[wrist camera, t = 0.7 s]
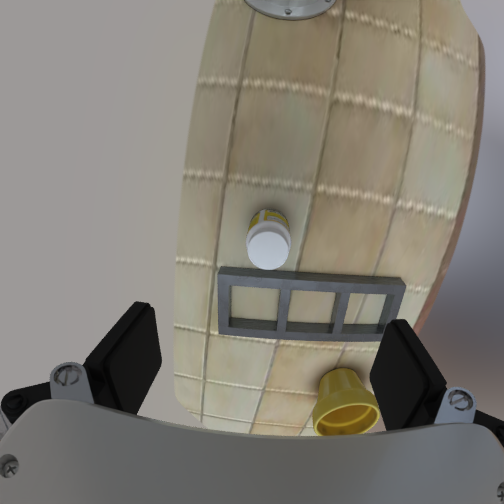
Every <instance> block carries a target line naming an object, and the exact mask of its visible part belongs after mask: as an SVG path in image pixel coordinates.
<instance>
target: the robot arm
mask: <svg viewBox="0 0 504 504" xmlns="http://www.w3.org/2000/svg"><path fill="white" fill-rule="evenodd" d="M335 1H336V0H245V2H246V3H247V4H248V5H250V6H251V7H252V8H253V9H255V10H257V11H259V12H260V13H262V14H265V15H268V16H270V17H275V18H279V19H287V20H301V19H308V18H312V17H315V16H318V15H320V14H322V13H324V12H326V11H327V10H328V9H329V8H331V7H332V5H333V4H334V3H335ZM288 14H290V15H288ZM161 363H162V357H161V352H160V345H159V338H158V333H157V325H156V318H155V311H154V308H153V307H151V306H150V304H149V303H144V302H137V301H136V302H134V304H133V305H132V306H131V307H130V308H129V309H128V310H127V311H126V313H125V314H124V315H123V316H122V317H121V318H120V319H119V321H118V322H117V323H116V324H115V325H114V326H113V327H112V329H111V330H110V331H109V332H108V333H107V335H106V336H105V337H104V338H103V339H102V340H101V342H100V343H99V344H98V345H97V346H96V348H95V349H94V350H93V351H92V352H91V354H90V355H89V356H88V357H87V358H86V361H85V363H84V364H83V365H81V364H78V363H75V362H66V363H63V364H60V365H58V366H57V367H55V368H54V369H53V371H52V372H51V374H50V382H46V383H42V384H38V385H33V386H29V387H25V388H21V389H16V390H13V391H10V392H9V393H7V394H6V395H5V396H4V397H3V399H2V401H1V406H0V504H504V421H502V420H499V419H497V418H495V417H492V416H490V415H488V414H485V413H483V412H481V411H478V410H476V399H475V397H474V396H473V394H472V393H471V392H470V391H468V390H466V389H464V388H461V387H452V388H449V389H447V388H446V386H445V385H446V384H447V382H446V380H445V379H444V377H443V376H442V374H441V372H440V371H439V369H438V368H437V366H436V364H435V363H434V361H433V360H432V358H431V356H430V355H429V353H428V352H427V350H426V349H425V347H424V346H423V344H422V343H421V341H420V340H419V338H418V337H417V335H416V334H415V332H414V331H413V329H412V328H411V326H410V325H409V324H408V322H407V321H406V320H405V319H393V320H391V322H390V323H387V325H386V327H385V331H384V334H383V337H382V340H381V343H380V346H379V349H378V352H377V355H376V358H375V361H374V363H373V366H372V369H371V372H370V382H371V385H372V388H373V391H374V394H375V397H376V400H377V403H378V405H379V409H380V412H381V415H382V418H383V421H384V424H385V428H386V431H382V432H374V433H364V434H352V435H335V436H274V435H257V434H245V433H235V432H226V431H218V430H210V429H203V428H197V427H190V426H185V425H180V424H174V423H170V422H165V421H160V420H156V419H151V418H147V417H143V416H138V415H137V413H138V411H139V409H140V407H141V405H142V402H143V401H144V399H145V397H146V395H147V393H148V391H149V388H150V386H151V385H152V383H153V381H154V379H155V377H156V375H157V373H158V371H159V369H160V367H161Z"/></svg>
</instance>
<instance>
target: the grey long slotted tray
mask: <svg viewBox="0 0 504 504" xmlns="http://www.w3.org/2000/svg"><path fill="white" fill-rule="evenodd" d="M231 285H233V286H245V287H259V288H272V289H280V296H279V305H278V315H277V321H267V320H253V319H241V318H231ZM405 289H406V285H405V283H404V282H403V281H402V280H401V278H394V277H374V276H356V275H339V274H323V273H307V272H292V271H277V270H263V269H249V268H235V267H222V266H221V268H220V270H219V272H218V329H219V334H222V335H232V336H243V337H255V338H268V339H284V340H304V341H340V342H372V341H381V340H382V337H383V334H384V331H385V327H386V325H387V323H390V322H391V320H393V319H396V318H397V315H398V312H399V308H400V305H401V302H402V299H403V296H404V292H405ZM291 290H303V291H321V292H336V297H335V302H334V307H333V312H332V316H331V321H330V324H322V323H299V322H287V316H288V308H289V300H290V292H291ZM350 293H364V294H387V297H386V300H385V304H384V307H383V311H382V314H381V317H380V320H379V324H378V325H363V324H343V322H344V318H345V314H346V310H347V306H348V301H349V297H350Z"/></svg>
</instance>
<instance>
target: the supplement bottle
mask: <svg viewBox="0 0 504 504" xmlns="http://www.w3.org/2000/svg"><path fill="white" fill-rule="evenodd" d="M246 248H247V251H248V256H249V258H250V260H251V262H252V263H253V264H254V265H255V266H257V267H259V268H261V269H264V270H272V269H276V268H278V267H280V266H281V265H283V264H284V262H285V261H286V259H287V257H288V254H289V251H290V248H291V235H290V230H289V225H288V221H287V219H286V217H285V216H284V215H283V214H282V213H281V212H279V211H277V210H275V209H264V210H261V211H259V212H258V213H256V214H255V215H254V217H253V218H252V220H251V223H250V226H249V230H248V233H247V237H246Z"/></svg>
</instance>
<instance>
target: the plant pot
mask: <svg viewBox="0 0 504 504" xmlns="http://www.w3.org/2000/svg"><path fill="white" fill-rule="evenodd" d="M379 417H380V411H379V407H378V404H377V401H376V399H375V397H374V395H373V394H372V393H371V392H370V391H368V390H366V388H365V387H364V385H363V384H362V382H361V381H360V379H359V377H358V376H357V374H356V373H355V372H354V371H353V370H351V369H347V368H339V369H335V370H332V371H330V372H328V373H327V374H325V375H324V376H323V378H322V379H321V381H320V385H319V393H318V400H317V404H316V405H315V407H314V409H313V428H314V431H315V433H316V434H317V435H318V436H335V435H352V434H363V433H365V432H366V431H368V430H369V429H371V428H372V427H373V426H374V425H375V424H376V423H377V421H378V419H379Z"/></svg>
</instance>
